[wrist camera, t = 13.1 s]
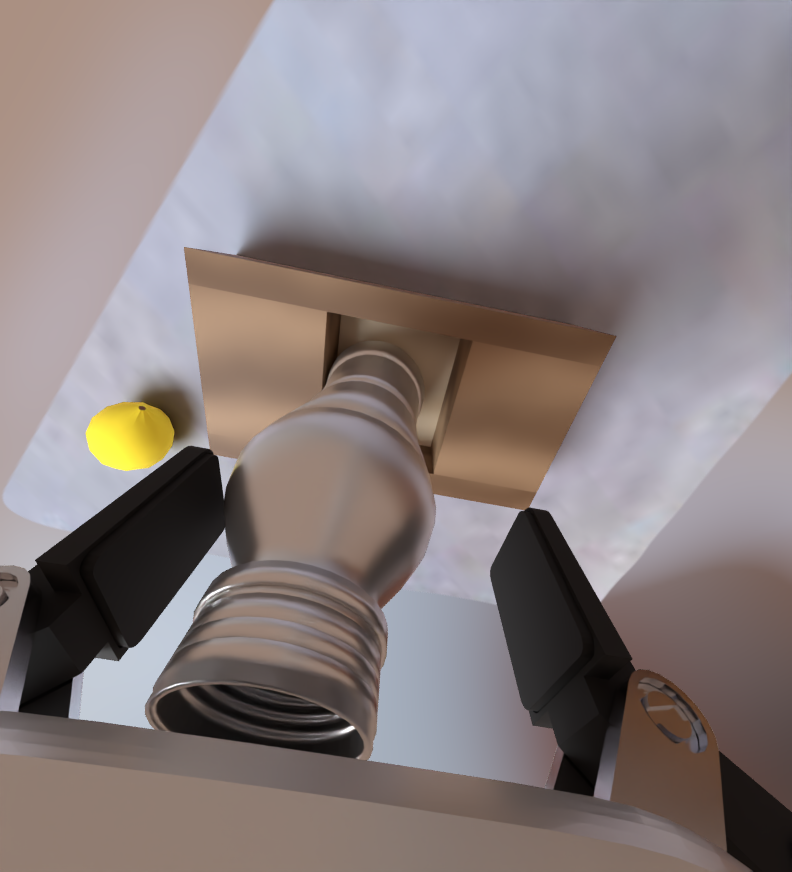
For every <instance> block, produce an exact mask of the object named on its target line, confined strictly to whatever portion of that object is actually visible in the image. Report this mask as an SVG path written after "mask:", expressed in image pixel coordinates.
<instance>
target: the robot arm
mask: <svg viewBox="0 0 792 872" xmlns="http://www.w3.org/2000/svg"><path fill="white" fill-rule="evenodd" d="M224 528H225V513H224V498H223V490H222V482H221V475H220V467H219V460H218V457H217V456H216V455H214V454H213V451H212V450H210V449H206V448H200V447H195V446H188V447H186V448H184V449H183V450H181V451H180V452H179V453H177V454H176V455H175V456H173V457H172V458H171V459H169V460H168V461H167V462H165V463H164V464H163V465H161V466H160V467H159V468H157V469H156V470H155V471H153V472H152V473H151V474H149V475H148V476H147V477H145V478H144V479H143V480H141V481H140V482H139V483H137V484H136V485H135V486H133V487H132V488H131V489H129V490H128V491H127V492H125V493H124V494H123V495H121V496H120V497H119V498H117V499H116V500H115V501H113V502H112V503H111V504H109V505H108V506H107V507H105V508H104V509H103V510H101V511H100V512H99V513H97V514H96V515H95V516H93V517H92V518H91V519H89V520H88V521H87V522H85V523H84V524H83V525H81V526H80V527H79V528H77V529H76V530H75V531H73V532H72V533H71V534H69V535H68V536H67V537H66V538H64V539H63V540H62V541H60V542H59V543H57V544H56V545H55V546H53V547H52V548H51V549H49V550H48V551H47V552H45V553H44V554H43V555H41V556H40V557H39V558H37V559H36V560H35V561H36V562H37V565H36V566H35V567H33V568H32V569H31V570H29V571H28V572H27V571H26V570H25V569H24V568H21V567H17V566H0V872H792V812H791V811H790V810H788V809H787V808H786V807H785V806H784V805H782V804H781V803H780V802H779V801H778V800H777V799H775V798H774V797H773V796H772V795H771V794H769V793H768V792H767V791H766V790H765V789H764V788H762V787H761V786H760V785H759V784H758V783H756V782H755V781H754V780H753V779H752V778H751V777H749V776H748V775H747V774H746V773H745V772H743V771H742V770H741V769H740V768H739V767H738V766H736V765H735V764H734V763H733V762H732V761H730V760H729V759H728V758H727V757H726V756H725V755H723V754H722V753H721V752H720V751H719V749H718V745H717V741H716V737H715V735H714V733H713V731H712V729H711V727H710V725H709V723H708V721H707V719H706V718H705V717H704V715H703V714H702V713H701V711H700V710H699V708H698V707H697V706H696V705H695V703H693V701H692V700H691V699H690V698H689V697H688V696H687V695H686V694H685V693H684V692H683V691H682V690H681V689H679V688H678V687H677V686H676V685H675V684H674V683H673V682H671V681H670V680H668V679H666V678H665V677H663V676H662V675H660V674H658V673H655V672H653V671H650V670H643V669H638V670H635V669H634V667H633V665H632V663H631V662H630V661H631V660H632V657H631V655H630V654H629V652H628V650H627V648H626V646H625V645H624V643H623V641H622V639H621V638H620V636H619V634H618V632H617V631H616V629H615V627H614V625H613V624H612V622H611V620H610V618H609V616H608V615H607V613H606V611H605V609H604V608H603V606H602V604H601V602H600V601H599V599H598V597H597V595H596V593H595V592H594V590H593V588H592V586H591V585H590V583H589V581H588V579H587V578H586V576H585V574H584V572H583V571H582V569H581V567H580V565H579V563H578V562H577V560H576V558H575V556H574V555H573V553H572V551H571V549H570V548H569V546H568V544H567V542H566V540H565V539H564V537H563V535H562V533H561V532H560V530H559V528H558V526H557V525H556V523H555V521H554V519H553V518H552V516H551V514H550V513H549V512H548V511H546V510H540V509H535V508H527V509H525V511H521V512H519V514H518V516H517V518H516V520H515V522H514V523H513V525H512V527H511V529H510V531H509V533H508V535H507V537H506V539H505V541H504V543H503V545H502V547H501V549H500V551H499V553H498V555H497V556H496V558H495V560H494V562H493V564H492V566H491V570H490V577H491V582H492V586H493V590H494V594H495V598H496V602H497V606H498V610H499V614H500V617H501V622H502V626H503V630H504V634H505V638H506V642H507V646H508V650H509V654H510V658H511V662H512V666H513V670H514V674H515V678H516V682H517V686H518V690H519V694H520V698H521V701H522V704H523V706H524V708H525V709H527V710H529V713H530V717H531V721H532V724H533V725H534V726H540V727H546V728H553V730H554V734H555V737H556V740H557V743H558V746H557V749H556V752H555V756H554V759H553V762H552V766H551V769H550V772H549V775H548V778H547V782H546V785H545V788H540V787H534V786H528V785H523V784H517V783H511V782H504V781H497V780H491V779H485V778H478V777H472V776H466V775H459V774H452V773H446V772H439V771H433V770H426V769H420V768H413V767H407V766H400V765H394V764H387V763H380V762H373V761H367V760H360V759H353V758H346V757H340V756H333V755H326V754H319V753H313V752H306V751H299V750H292V749H285V748H279V747H272V746H265V745H258V744H251V743H244V742H238V741H231V740H224V739H217V738H210V737H202V736H195V735H188V734H181V733H174V732H167V731H160V730H153V729H145V728H138V727H132V726H125V725H118V724H111V723H104V722H96V721H88V720H79V716H80V706H81V695H82V694H81V693H82V684H83V674H84V673H83V672H84V670H85V669H86V668H87V666H88V665H89V664H90V663H91V662H92V660H93V659H94V658H101V659H107V660H114V661H119V660H120V659H121V657H122V656H123V655H124V654H125V652H126V651H127V650H128V648H132V647H134V646H136V645H137V644H138V643H139V642H140V641H141V640H142V639H143V637H144V636H145V635H146V633H147V632H148V630H149V629H150V628H151V627H152V625H153V624H154V623H155V621H156V620H157V619H158V617H159V616H160V615H161V613H162V612H163V611H164V609H165V608H166V607H167V605H168V604H169V603H170V601H171V600H172V599H173V597H174V596H175V595H176V593H177V592H178V591H179V589H180V588H181V587H182V585H183V584H184V583H185V581H186V580H187V579H188V577H189V576H190V575H191V573H192V572H193V571H194V569H195V568H196V567H197V565H198V564H199V563H200V561H201V560H202V559H203V557H204V556H205V555H206V553H207V552H208V551H209V549H210V548H211V547H212V545H213V544H214V543H215V541H216V540H217V539H218V537H219V536H220V535H221V533H222V532H223V530H224Z"/></svg>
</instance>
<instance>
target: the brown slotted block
mask: <svg viewBox="0 0 792 872" xmlns="http://www.w3.org/2000/svg"><path fill="white" fill-rule="evenodd" d="M184 252H185V260H186V268H187V275H188V283H189V291H190V299H191V306H192V314H193V322H194V330H195V337H196V345H197V353H198V361H199V368H200V376H201V384H202V392H203V399H204V407H205V415H206V423H207V430H208V438H209V446H210V450H212V451H213V454H214V455H219V456H224V457H230V458H236V459H238V457H239V455H240V453H241V451H242V450H243V449H244V447H245V446H246V445H247V444H248V443H249V442H250V441H251V439H252V438H253V437H255V436H256V435H257V434H259V433H260V432H261V431H263V430H264V429H265V428H266V427H268V426H269V425H270V424H272V423H273V422H275V421H276V420H278V419H279V418H281V417H282V416H285V415H287V414H288V413H290V412H291V411H293V410H295V409H297V408H298V407H300V406H302V405H304V404H305V403H307V402H309V401H310V400H312V399H313V398H314V397H315V396H316V395H317V394H318V393H320V392H321V391H322V390H323V389H324V387H325V385H326V383H327V379H328V376H329V372H330V370H331V368H332V366H333V364H334V362H335V360H336V358H337V357H338V356H339V355H340V354H341V353H342V352H343V351H344V350H345V349H347V348H348V347H350V346H352V345H354V344H356V343H359V342H364V341H384V342H388V343H391V344H393V345H395V346H397V347H399V348H401V349H402V350H403V351H405V352H406V353H407V354H408V355H409V356H410V357H411V358H412V359H413V360H414V362H415V363H416V365H417V366H418V368H419V369H420V372H421V375H422V377H423V381H424V387H425V394H424V401H423V405H422V409H421V412H420V414H419V416H418V418H417V424H416V429H417V436H418V443H419V446H420V449H421V452H422V455H423V457H424V460H425V463H426V466H427V469H428V472H429V475H430V480H431V485H432V489H433V494H437V495H443V496H448V497H454V498H459V499H465V500H471V501H476V502H482V503H487V504H493V505H499V506H504V507H510V508H515V509H521V510H525V509H527V508H529V506H530V504H531V502H532V500H533V498H534V496H535V494H536V492H537V490H538V489H539V487H540V485H541V483H542V481H543V479H544V477H545V475H546V473H547V471H548V469H549V467H550V465H551V463H552V461H553V459H554V457H555V455H556V453H557V451H558V449H559V447H560V446H561V444H562V442H563V440H564V438H565V436H566V434H567V432H568V430H569V428H570V426H571V424H572V422H573V420H574V418H575V416H576V414H577V412H578V410H579V408H580V406H581V404H582V403H583V401H584V399H585V397H586V395H587V393H588V391H589V389H590V387H591V385H592V383H593V381H594V379H595V377H596V375H597V373H598V371H599V369H600V367H601V365H602V363H603V361H604V360H605V358H606V356H607V354H608V352H609V350H610V348H611V346H612V344H613V342H614V340H615V338H616V336H613V335H610V334H606V333H602V332H598V331H594V330H591V329H587V328H583V327H579V326H575V325H571V324H567V323H562V322H557V321H552V320H547V319H542V318H538V317H533V316H528V315H523V314H518V313H513V312H509V311H504V310H499V309H494V308H489V307H484V306H480V305H475V304H470V303H465V302H460V301H455V300H450V299H446V298H441V297H436V296H431V295H426V294H421V293H417V292H412V291H407V290H402V289H397V288H392V287H388V286H383V285H378V284H373V283H368V282H363V281H358V280H354V279H349V278H344V277H339V276H334V275H329V274H325V273H320V272H315V271H310V270H305V269H300V268H296V267H291V266H286V265H281V264H276V263H271V262H267V261H262V260H257V259H252V258H247V257H242V256H237V255H232V254H225V253H219V252H212V251H206V250H199V249H193V248H187V247H184Z"/></svg>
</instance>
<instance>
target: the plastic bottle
mask: <svg viewBox="0 0 792 872" xmlns="http://www.w3.org/2000/svg"><path fill="white" fill-rule="evenodd" d="M424 394H425V387H424V381H423V377H422V375H421V372H420V369H419V368H418V366H417V365H416V363H415V362H414V360H413V359H412V358H411V357H410V356H409V355H408V354H407V353H406V352H405V351H403V350H402V349H401V348H399V347H397V346H395V345H393V344H391V343H388V342H384V341H364V342H359V343H356V344H354V345H352V346H350V347H348V348H347V349H345V350H344V351H343V352H342V353H341V354H340V355H339V356H338V357H337V358H336V360H335V362H334V364H333V366H332V368H331V370H330V372H329V376H328V379H327V383H326V385H325V387H324V389H323V390H322V391H321V392H320V393H318V394H317V395H316V396H315V397H314V398H313V399H312V400H310V401H309V402H307V403H305V404H304V405H302V406H300V407H298V408H297V409H295V410H293V411H291V412H290V413H288V414H287V415H285V416H282V417H281V418H279V419H278V420H276V421H275V422H273V423H272V424H270V425H269V426H268V427H266V428H265V429H264V430H263V431H261V432H260V433H259V434H257V435H256V436H255V437H253V438H252V439H251V441H250V442H249V443H248V444H247V445H246V446H245V447H244V449H243V450H242V451H241V453H240V455H239V457H238V460H237V462H236V464H235V466H234V469H233V471H232V474H231V476H230V479H229V481H228V484H227V486H226V492H225V498H224V513H225V530H226V539H227V547H228V551H229V556H230V560H231V565H232V568H230V569H229V570H226V571H225V572H222V573H221V574H220V575H219V576H218V577H217V578H216V579H214V580H213V581H212V583H211V585H210V586H209V588H208V589H207V591H206V592H205V594H204V595H203V597H202V599H201V600H200V602H199V604H198V606H197V607H196V609H195V611H194V617H193V624H192V625H191V627H190V629H189V630H188V632H187V633H186V635H185V637H184V638H183V640H182V642H181V643H180V645H179V646H178V648H177V649H176V651H175V652H174V654H173V656H172V657H171V659H170V661H169V662H168V664H167V665H166V667H165V668H164V670H163V672H162V673H161V675H160V676H159V678H158V680H157V681H156V683H155V685H154V687H153V693H152V694H151V696H150V698H149V699H148V701H147V703H146V705H145V715H146V717H147V719H148V721H149V723H150V725H151V726H152V727H153V728H154V729H155V730H160V731H167V732H174V733H181V734H188V735H195V736H202V737H210V738H217V739H224V740H231V741H238V742H244V743H251V744H258V745H265V746H272V747H279V748H285V749H292V750H299V751H306V752H313V753H319V754H326V755H333V756H340V757H346V758H353V759H360V760H368V759H369V758H370V756H371V753H372V750H373V740H374V738H375V735H376V730H377V712H378V699H379V684H380V670H381V668H382V667H383V665H384V662H385V659H386V654H387V638H388V632H387V631H388V629H387V622H386V619H385V616H384V613H383V612H382V610H381V609H382V608H383V607H384V606H385V605H386V604H387V603H388V602H389V601H390V599H392V598H393V597H394V596H395V595H396V594H397V593H398V592H399V591H400V590H401V588H402V587H403V586H404V584H405V583H406V582H407V581H408V579H409V578H410V577H411V575H412V574H413V573H414V571H415V570H416V569H417V567H418V565H419V564H420V562H421V561H422V559H423V558H424V556H425V553H426V550H427V547H428V543H429V540H430V537H431V534H432V531H433V528H434V524H435V515H436V505H435V500H434V494H433V489H432V485H431V480H430V475H429V472H428V469H427V466H426V463H425V460H424V457H423V455H422V452H421V449H420V446H419V443H418V436H417V429H416V424H417V418H418V416H419V414H420V412H421V409H422V405H423V401H424Z"/></svg>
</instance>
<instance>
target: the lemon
mask: <svg viewBox="0 0 792 872" xmlns="http://www.w3.org/2000/svg"><path fill="white" fill-rule="evenodd" d="M86 437H87V441H88V445H89V449H90V451H91V452H92V453H93V454H94V455H95V456H96V458H97V459H98V460H99V461H100V462H101V463H102V464H104V465H107V466H110V467H113V468H116V469H120V470H125V471H128V470H135V469H142V468H149V467H151V466H152V465H154V464H156V463H157V462H159V461H160V460H162V459H163V458H164V457H165V455H166V454H167V452H168V451H169V450H170V448H171V447H172V445H173V438H174V429H173V427H172V424H171V422H170V419H169V417H168V416H167V415H166V414H165V413H164V412H163V411H162V410H161V409H159V408H156V407H153V406H150V405H148V404H146V403H144V402H122V403H119V404H115V405H111V406H108V407H106V408H105V409H103V410H102V411H101V412H99V413H98V414H97V415H95V416H94V417H93V418H92V419H91V422H90V424H89V427H88V429H87V431H86Z"/></svg>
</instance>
